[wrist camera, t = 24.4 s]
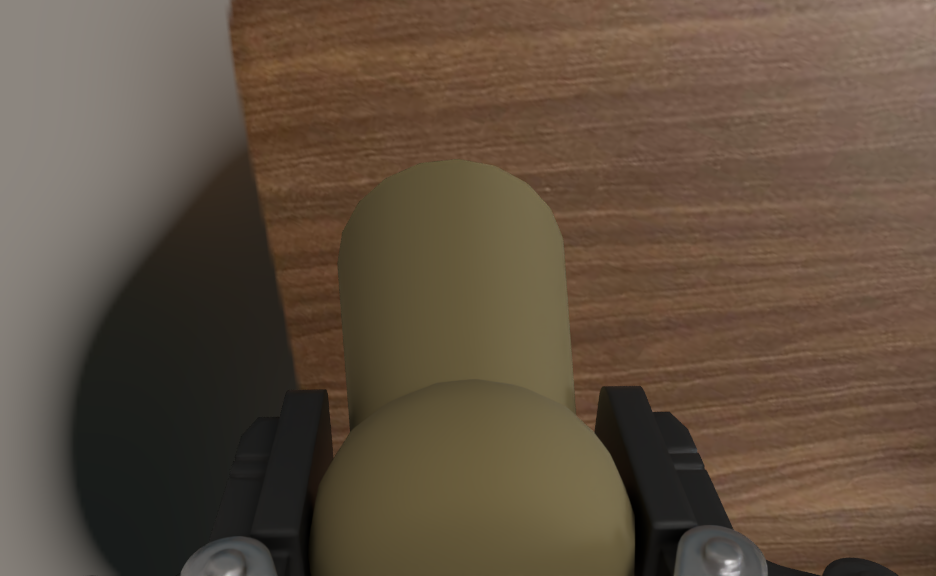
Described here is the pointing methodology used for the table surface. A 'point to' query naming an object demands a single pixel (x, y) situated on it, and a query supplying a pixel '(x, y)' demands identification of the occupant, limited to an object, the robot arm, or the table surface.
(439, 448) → the chess pawn figurine
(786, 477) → the table surface
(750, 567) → the robot arm
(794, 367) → the table surface
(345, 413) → the table surface
